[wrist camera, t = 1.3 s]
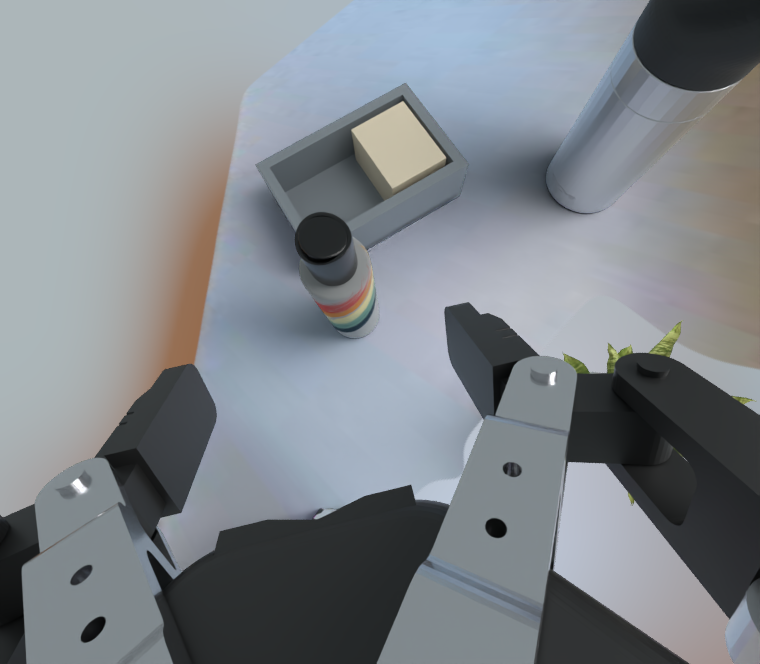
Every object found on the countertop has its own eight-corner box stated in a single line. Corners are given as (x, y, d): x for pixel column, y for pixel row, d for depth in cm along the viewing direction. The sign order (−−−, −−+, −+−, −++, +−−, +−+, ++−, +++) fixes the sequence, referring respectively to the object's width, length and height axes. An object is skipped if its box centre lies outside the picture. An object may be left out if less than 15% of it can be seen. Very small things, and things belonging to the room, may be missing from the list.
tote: (404, 122, 48) (405, 82, 42) (459, 196, 46) (468, 164, 40) (273, 195, 47) (255, 164, 41) (321, 276, 44) (310, 255, 38)
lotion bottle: (323, 308, 43) (262, 223, 24) (363, 284, 44) (336, 180, 24) (347, 348, 42) (305, 293, 23) (389, 322, 42) (382, 246, 23)
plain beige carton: (402, 133, 47) (403, 101, 42) (441, 185, 45) (446, 157, 40) (355, 159, 46) (351, 129, 41) (392, 213, 44) (392, 188, 40)
